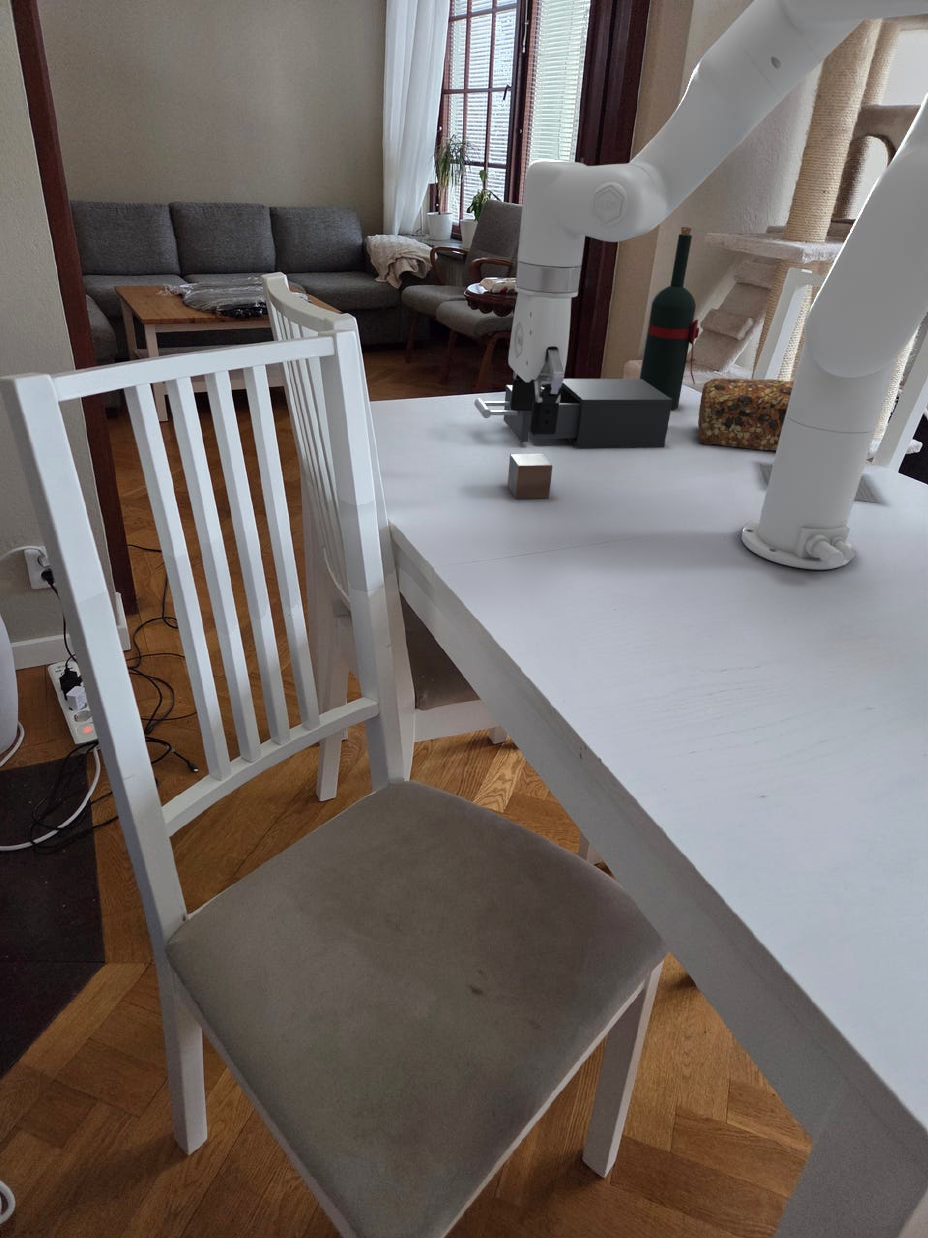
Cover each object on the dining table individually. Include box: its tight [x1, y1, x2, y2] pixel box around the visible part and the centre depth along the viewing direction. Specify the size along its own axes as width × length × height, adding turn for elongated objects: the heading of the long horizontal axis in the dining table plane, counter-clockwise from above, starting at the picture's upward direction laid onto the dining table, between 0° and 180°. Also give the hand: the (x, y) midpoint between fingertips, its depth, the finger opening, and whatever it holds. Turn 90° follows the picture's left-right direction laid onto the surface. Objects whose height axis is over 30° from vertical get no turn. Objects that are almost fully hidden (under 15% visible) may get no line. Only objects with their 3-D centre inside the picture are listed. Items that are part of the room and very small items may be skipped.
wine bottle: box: [638, 225, 700, 411], centre depth 145 cm, size 8×10×30 cm
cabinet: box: [561, 378, 672, 449], centre depth 133 cm, size 15×13×8 cm
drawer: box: [473, 384, 581, 443], centre depth 131 cm, size 19×11×6 cm, turn 101°
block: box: [507, 453, 553, 500], centre depth 110 cm, size 5×5×5 cm
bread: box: [697, 377, 794, 451], centre depth 134 cm, size 19×11×10 cm, turn 77°
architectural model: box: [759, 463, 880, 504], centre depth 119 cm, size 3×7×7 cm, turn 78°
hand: (531, 421), depth 106 cm, fingers open, 9 cm apart
